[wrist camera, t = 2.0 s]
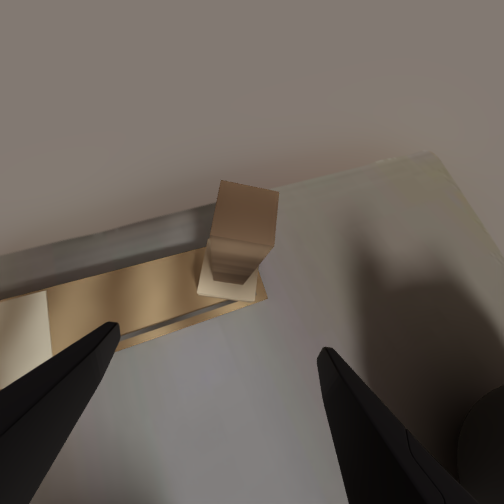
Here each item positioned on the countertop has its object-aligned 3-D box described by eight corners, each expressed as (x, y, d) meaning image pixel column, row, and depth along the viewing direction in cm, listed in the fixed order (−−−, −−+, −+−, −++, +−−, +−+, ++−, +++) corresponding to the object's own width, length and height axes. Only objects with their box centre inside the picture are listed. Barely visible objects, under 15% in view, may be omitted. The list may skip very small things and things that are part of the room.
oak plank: (244, 239, 24) (246, 235, 22) (265, 299, 22) (268, 298, 21) (-49, 317, 17) (-69, 317, 16) (-50, 409, 16) (-72, 417, 14)
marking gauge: (250, 302, 20) (301, 279, 8) (199, 295, 20) (170, 259, 8) (257, 246, 22) (306, 158, 10) (210, 238, 22) (202, 135, 9)
